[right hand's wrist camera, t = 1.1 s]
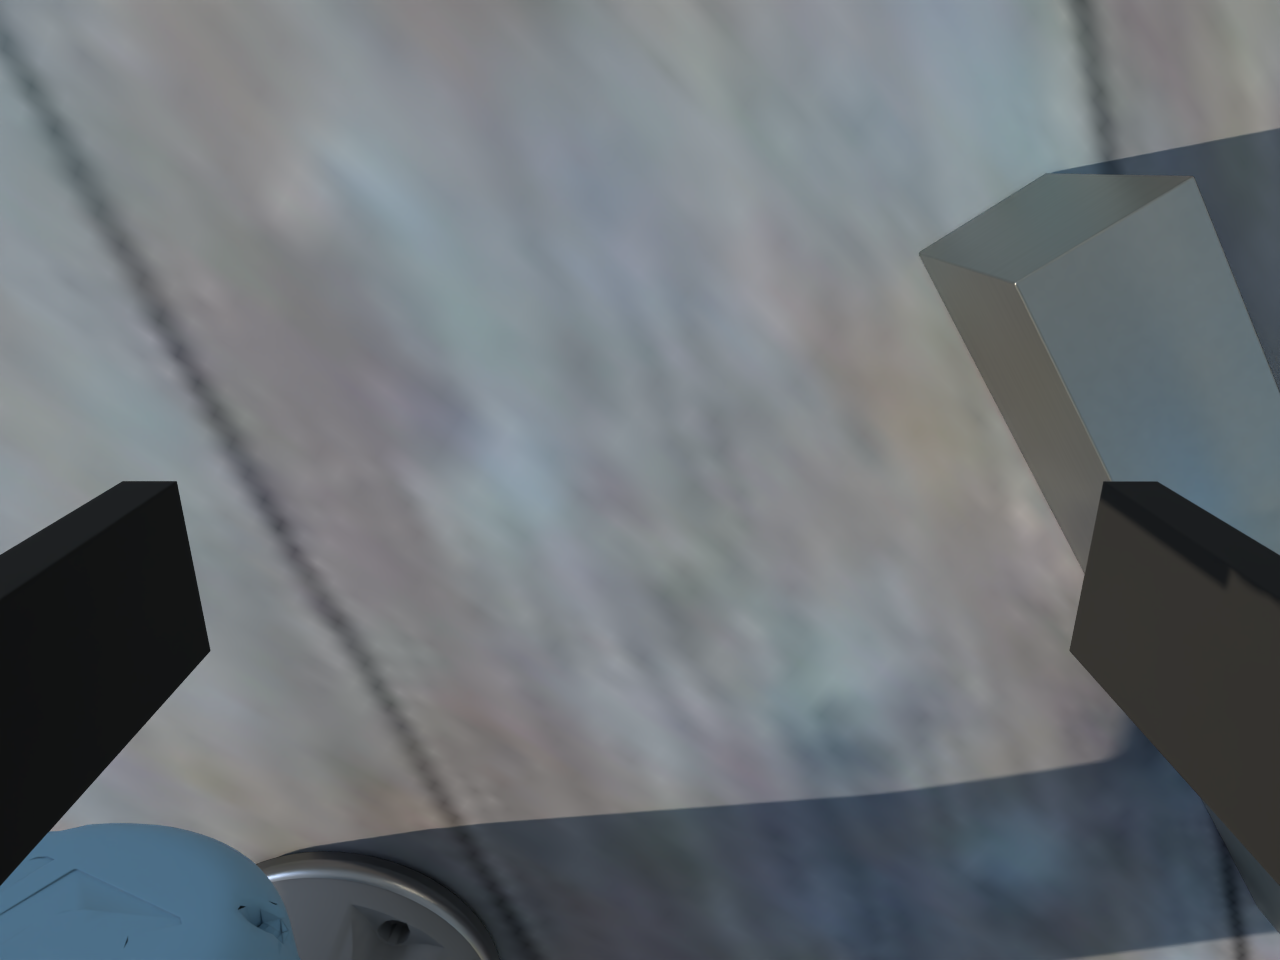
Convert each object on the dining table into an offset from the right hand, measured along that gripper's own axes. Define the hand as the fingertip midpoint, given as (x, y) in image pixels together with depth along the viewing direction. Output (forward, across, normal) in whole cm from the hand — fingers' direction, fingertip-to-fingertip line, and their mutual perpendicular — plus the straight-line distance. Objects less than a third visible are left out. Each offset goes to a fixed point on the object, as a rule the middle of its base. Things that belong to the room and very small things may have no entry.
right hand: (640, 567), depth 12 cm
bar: (+20, +21, -11) cm, 31 cm away
